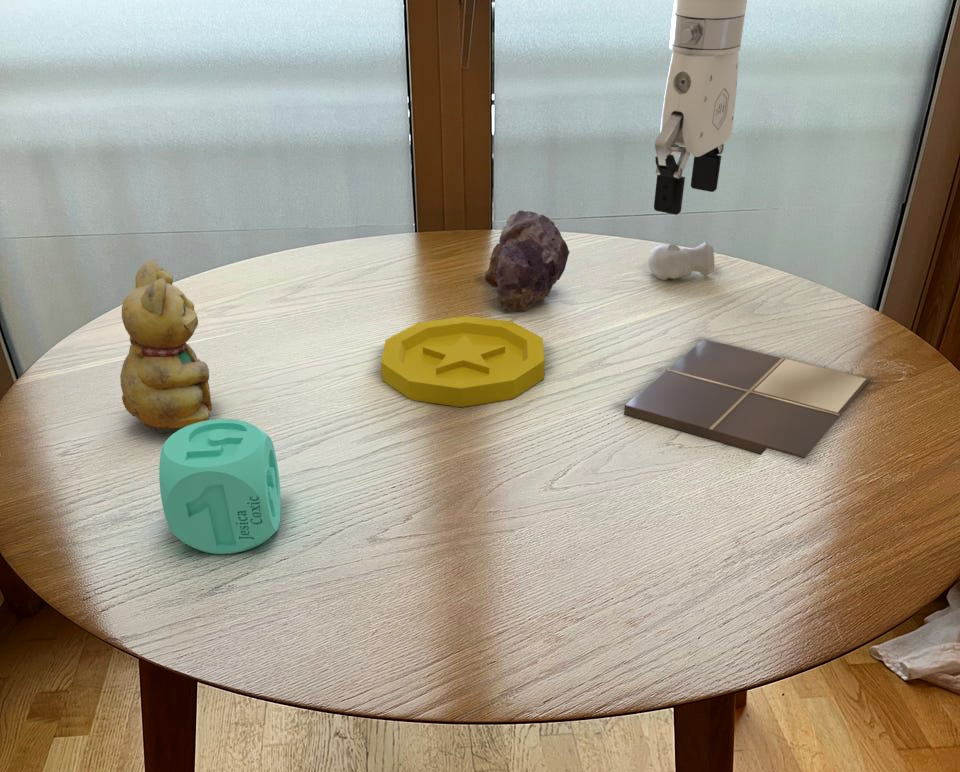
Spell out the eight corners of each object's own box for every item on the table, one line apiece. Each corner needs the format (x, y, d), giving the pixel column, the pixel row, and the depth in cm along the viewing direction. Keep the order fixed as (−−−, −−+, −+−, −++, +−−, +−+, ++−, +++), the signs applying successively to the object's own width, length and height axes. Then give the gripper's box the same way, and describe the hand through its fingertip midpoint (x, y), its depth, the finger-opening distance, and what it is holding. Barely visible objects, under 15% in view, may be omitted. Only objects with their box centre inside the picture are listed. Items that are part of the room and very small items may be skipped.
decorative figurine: (229, 433, 95) (197, 277, 85) (142, 454, 92) (99, 295, 82) (202, 392, 101) (170, 243, 92) (120, 411, 99) (78, 259, 89)
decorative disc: (575, 357, 106) (576, 339, 105) (477, 422, 96) (476, 403, 94) (452, 321, 114) (452, 304, 113) (348, 378, 103) (346, 360, 102)
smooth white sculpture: (645, 290, 123) (649, 263, 126) (710, 293, 121) (714, 266, 124) (646, 260, 119) (651, 233, 122) (714, 263, 118) (717, 236, 120)
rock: (485, 324, 116) (571, 320, 116) (482, 255, 110) (573, 251, 109) (483, 272, 124) (564, 268, 124) (481, 204, 117) (566, 200, 117)
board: (867, 388, 100) (870, 378, 99) (802, 466, 88) (804, 455, 88) (702, 347, 108) (703, 337, 107) (623, 414, 96) (624, 404, 96)
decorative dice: (175, 558, 79) (152, 471, 74) (190, 504, 85) (170, 420, 80) (275, 552, 80) (259, 465, 75) (283, 499, 86) (269, 415, 81)
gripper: (704, 51, 99) (682, 227, 110) (770, 23, 110) (744, 186, 121) (637, 43, 102) (622, 215, 113) (708, 17, 113) (688, 176, 124)
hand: (685, 200), depth 117 cm, fingers open, 9 cm apart
